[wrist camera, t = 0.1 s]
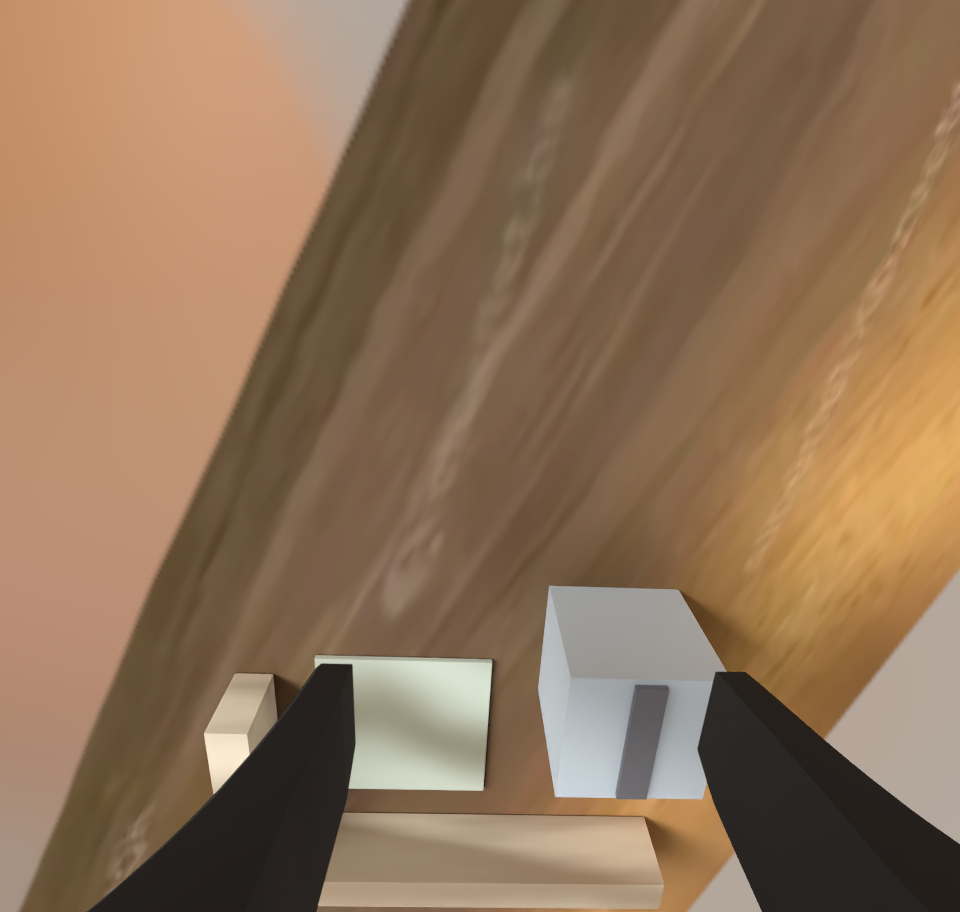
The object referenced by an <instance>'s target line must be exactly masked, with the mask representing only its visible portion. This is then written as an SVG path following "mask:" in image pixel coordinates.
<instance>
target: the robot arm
mask: <svg viewBox="0 0 960 912" xmlns="http://www.w3.org/2000/svg"><path fill="white" fill-rule="evenodd" d="M355 745H356V738H355V714H354V689H353V664H327V663H321V664H320V665H319V666H317V667H316V668H315V670H314V671H313V673H312V674H311V676H310V677H309V678H308V680H307V681H306V683H305V684H304V686H303V687H302V688H301V690H300V691H299V693H298V694H297V695H296V697H295V698H294V699H293V701H292V702H291V703H290V705H289V706H288V707H287V709H286V710H285V711H284V713H283V714H282V715H281V717H280V718H279V719H278V720H277V722H276V723H275V724H274V725H273V727H272V728H271V729H270V730H269V732H268V733H267V734H266V735H265V737H264V738H263V739H262V740H261V741H260V743H259V744H258V745H257V746H256V748H255V749H254V750H253V751H252V752H251V754H250V755H249V756H248V757H247V758H246V759H245V760H244V762H243V763H242V764H241V765H240V766H239V767H238V768H237V769H236V771H235V772H234V773H233V774H232V775H231V776H230V777H229V778H228V780H227V781H226V782H225V783H224V784H223V785H222V786H221V787H220V789H219V790H218V791H217V792H216V793H215V794H214V795H213V796H212V797H211V798H210V799H209V800H208V801H207V802H206V803H205V804H204V805H203V807H202V808H201V809H200V810H199V811H198V812H197V813H196V814H195V815H194V816H193V817H192V818H191V819H190V820H189V821H188V822H187V823H186V824H185V825H184V826H183V827H182V828H181V829H180V830H179V831H177V832H176V833H175V834H174V835H173V836H172V837H171V838H170V839H169V840H168V841H167V842H166V843H165V844H164V845H163V846H162V847H161V848H160V849H159V850H157V851H156V852H155V853H154V854H153V855H152V856H151V857H150V858H149V859H147V860H146V861H145V862H144V863H143V864H142V865H141V866H140V867H139V868H138V869H136V870H135V871H134V872H133V873H132V874H131V875H130V876H129V877H128V878H126V879H125V880H124V881H123V882H122V883H121V884H120V885H118V886H117V887H116V888H115V889H114V890H113V891H111V892H110V893H109V894H108V895H107V896H106V897H104V898H103V899H102V900H101V901H100V902H98V903H97V904H96V905H95V906H93V907H92V908H91V909H90V910H88V911H87V912H316V911H317V907H318V903H319V900H320V896H321V892H322V889H323V885H324V881H325V878H326V874H327V870H328V867H329V863H330V859H331V856H332V852H333V848H334V845H335V841H336V837H337V833H338V830H339V826H340V822H341V819H342V815H343V811H344V807H345V803H346V800H347V794H348V788H349V783H350V777H351V771H352V764H353V758H354V752H355ZM697 750H698V754H699V757H700V760H701V764H702V767H703V771H704V774H705V777H706V780H707V783H708V787H709V790H710V793H711V796H712V799H713V802H714V804H715V807H716V809H717V811H718V814H719V816H720V818H721V821H722V823H723V825H724V828H725V830H726V832H727V834H728V837H729V839H730V841H731V843H732V846H733V848H734V850H735V852H736V855H737V857H738V859H739V861H740V864H741V866H742V868H743V870H744V872H745V874H746V877H747V879H748V881H749V883H750V886H751V888H752V890H753V893H754V895H755V897H756V899H757V901H758V903H759V906H760V908H761V910H762V912H960V844H959V843H957V842H956V841H954V840H953V839H951V838H950V837H949V836H947V835H946V834H944V833H943V832H941V831H940V830H938V829H937V828H936V827H934V826H933V825H931V824H930V823H929V822H927V821H926V820H924V819H923V818H922V817H920V816H919V815H918V814H916V813H915V812H914V811H912V810H911V809H910V808H908V807H907V806H906V805H904V804H903V803H902V802H900V801H899V800H898V799H897V798H895V797H894V796H893V795H891V794H890V793H889V792H887V791H886V790H885V789H884V788H882V787H881V786H880V785H879V784H877V783H876V782H875V781H873V780H872V779H871V778H870V777H868V776H867V775H866V774H865V773H863V772H862V771H861V770H860V769H858V768H857V767H856V766H855V765H854V764H852V763H851V762H850V761H849V760H848V759H846V758H845V757H844V756H843V755H842V754H840V753H839V752H838V751H837V750H836V749H834V748H833V747H832V746H831V745H830V744H829V743H827V742H826V741H825V740H824V739H823V738H821V737H820V736H819V735H818V734H817V733H816V732H814V731H813V730H812V729H811V728H810V727H809V726H808V725H806V724H805V723H804V722H803V721H802V720H801V719H800V718H798V717H797V716H796V715H795V714H794V713H793V712H791V711H790V710H789V709H788V708H787V707H786V706H785V705H783V704H782V703H781V702H780V701H779V700H778V699H777V698H775V697H774V696H773V695H772V694H771V693H770V692H769V691H767V690H766V689H765V688H764V687H763V686H762V685H760V684H759V683H758V682H757V681H756V680H755V679H753V678H752V677H751V676H750V675H748V674H747V673H746V672H715V676H714V680H713V684H712V688H711V693H710V697H709V701H708V705H707V710H706V714H705V718H704V722H703V727H702V731H701V735H700V739H699V744H698V748H697Z"/></svg>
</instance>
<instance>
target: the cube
mask: <svg viewBox="0 0 960 912" xmlns="http://www.w3.org/2000/svg"><path fill="white" fill-rule="evenodd" d="M715 672H727V671H726V669H725V668H724V666H723V664H722V663H721V661H720V659H719V658H718V656H717V654H716V653H715V651H714V649H713V647H712V646H711V644H710V642H709V641H708V639H707V637H706V636H705V634H704V632H703V631H702V629H701V627H700V625H699V624H698V622H697V620H696V619H695V617H694V615H693V614H692V612H691V610H690V608H689V607H688V605H687V603H686V602H685V600H684V598H683V597H682V595H681V593H680V592H679V590H674V589H640V588H606V587H572V586H549V593H548V603H547V612H546V621H545V631H544V640H543V649H542V659H541V668H540V677H539V686H538V691H539V697H540V704H541V710H542V716H543V723H544V729H545V735H546V742H547V748H548V754H549V761H550V767H551V773H552V780H553V786H554V792H555V797H591V798H617V799H647V798H657V799H703V795H704V791H705V787H706V783H707V780H706V777H705V774H704V771H703V767H702V764H701V760H700V757H699V754H698V750H697V748H698V744H699V739H700V735H701V731H702V727H703V722H704V718H705V714H706V710H707V705H708V701H709V697H710V693H711V688H712V684H713V680H714V676H715Z"/></svg>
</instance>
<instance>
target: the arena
mask: <svg viewBox="0 0 960 912" xmlns="http://www.w3.org/2000/svg"><path fill="white" fill-rule="evenodd" d="M321 663H327V664H353V689H354V714H355V738H356V745H355V752H354V758H353V764H352V771H351V777H350V783H349V788H351V789H414V790H477V791H483V786H484V772H485V757H486V743H487V729H488V715H489V700H490V686H491V672H492V659H455V658H414V657H373V656H332V655H316V656H315V668H316V667H317V666H319V665H320V664H321ZM277 720H278V719H277V709H276V698H275V688H274V678H273V674H243V673H235V675H234V677H233V679H232V681H231V682H230V684H229V686H228V688H227V690H226V692H225V694H224V696H223V698H222V700H221V702H220V704H219V705H218V707H217V709H216V711H215V713H214V715H213V717H212V719H211V721H210V723H209V725H208V727H207V729H206V730H205V732H204V737H205V743H206V749H207V756H208V762H209V768H210V775H211V781H212V787H213V794H215V793H216V792H217V791H218V790H219V789H220V787H221V786H222V785H223V784H224V783H225V782H226V781H227V780H228V778H229V777H230V776H231V775H232V774H233V773H234V772H235V771H236V769H237V768H238V767H239V766H240V765H241V764H242V763H243V762H244V760H245V759H246V758H247V757H248V756H249V755H250V754H251V752H252V751H253V750H254V749H255V748H256V746H257V745H258V744H259V743H260V741H261V740H262V739H263V738H264V737H265V735H266V734H267V733H268V732H269V730H270V729H271V728H272V727H273V725H274V724H275V723H276V722H277ZM663 889H664V882H663V878H662V875H661V872H660V868H659V865H658V862H657V858H656V855H655V852H654V849H653V845H652V842H651V839H650V835H649V832H648V829H647V825H646V822H645V819H644V817H614V816H544V815H474V814H404V813H343V815H342V819H341V822H340V826H339V830H338V833H337V837H336V841H335V845H334V848H333V852H332V856H331V859H330V863H329V867H328V870H327V874H326V878H325V881H324V885H323V889H322V892H321V896H320V900H319V903H318V906H368V907H491V908H614V909H659V906H660V902H661V898H662V894H663Z"/></svg>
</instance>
